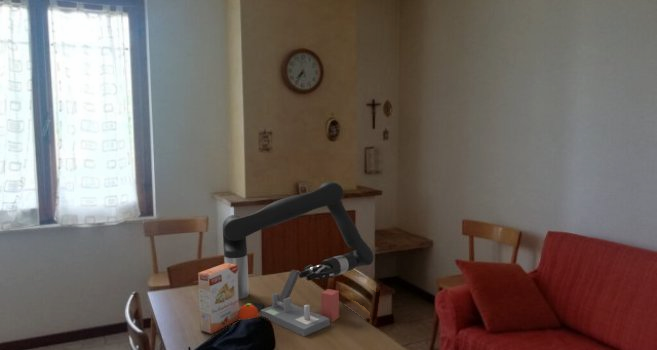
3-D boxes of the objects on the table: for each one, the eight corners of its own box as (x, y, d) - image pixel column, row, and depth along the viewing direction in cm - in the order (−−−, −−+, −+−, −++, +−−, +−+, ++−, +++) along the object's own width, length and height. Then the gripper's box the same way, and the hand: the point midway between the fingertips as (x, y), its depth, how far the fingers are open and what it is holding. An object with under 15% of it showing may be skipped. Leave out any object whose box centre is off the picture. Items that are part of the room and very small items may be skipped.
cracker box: (212, 335, 166) (209, 275, 164) (199, 331, 169) (196, 272, 167) (240, 320, 178) (238, 264, 176) (228, 316, 181) (225, 261, 179)
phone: (229, 317, 179) (248, 302, 193) (230, 320, 179) (248, 304, 194) (248, 320, 177) (265, 304, 191) (248, 322, 177) (265, 306, 191)
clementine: (241, 318, 180) (240, 299, 179) (260, 318, 179) (259, 299, 179) (237, 327, 172) (236, 308, 171) (256, 327, 171) (256, 308, 171)
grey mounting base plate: (260, 316, 181) (259, 296, 180) (285, 307, 189) (285, 288, 188) (304, 336, 164) (303, 314, 163) (329, 325, 172) (329, 304, 171)
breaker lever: (275, 303, 182) (290, 268, 186) (278, 305, 183) (293, 270, 187) (282, 306, 178) (298, 271, 183) (285, 308, 180) (301, 273, 184)
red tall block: (321, 319, 177) (320, 292, 176) (328, 315, 181) (327, 288, 180) (332, 322, 175) (331, 295, 174) (339, 317, 179) (338, 291, 177)
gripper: (322, 254, 204) (291, 263, 192) (347, 260, 194) (315, 271, 182) (322, 271, 205) (291, 281, 193) (347, 279, 195) (316, 290, 183)
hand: (303, 276), depth 188 cm, fingers open, 3 cm apart
